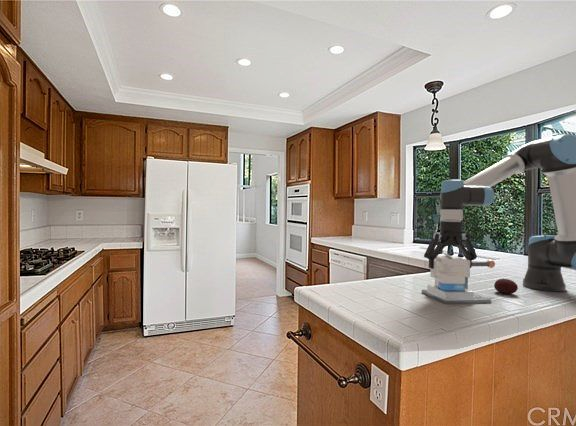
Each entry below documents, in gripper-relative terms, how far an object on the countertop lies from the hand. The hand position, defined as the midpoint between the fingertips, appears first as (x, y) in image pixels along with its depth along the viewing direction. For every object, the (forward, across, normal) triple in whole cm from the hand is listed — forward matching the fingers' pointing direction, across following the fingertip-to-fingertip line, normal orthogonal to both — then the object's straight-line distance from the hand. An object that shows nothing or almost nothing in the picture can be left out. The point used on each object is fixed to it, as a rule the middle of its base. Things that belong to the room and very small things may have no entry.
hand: (450, 277), depth 126 cm
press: (+8, -4, -2) cm, 9 cm away
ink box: (+4, 0, 0) cm, 4 cm away
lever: (-2, -16, -7) cm, 18 cm away
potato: (+9, -28, -6) cm, 30 cm away
